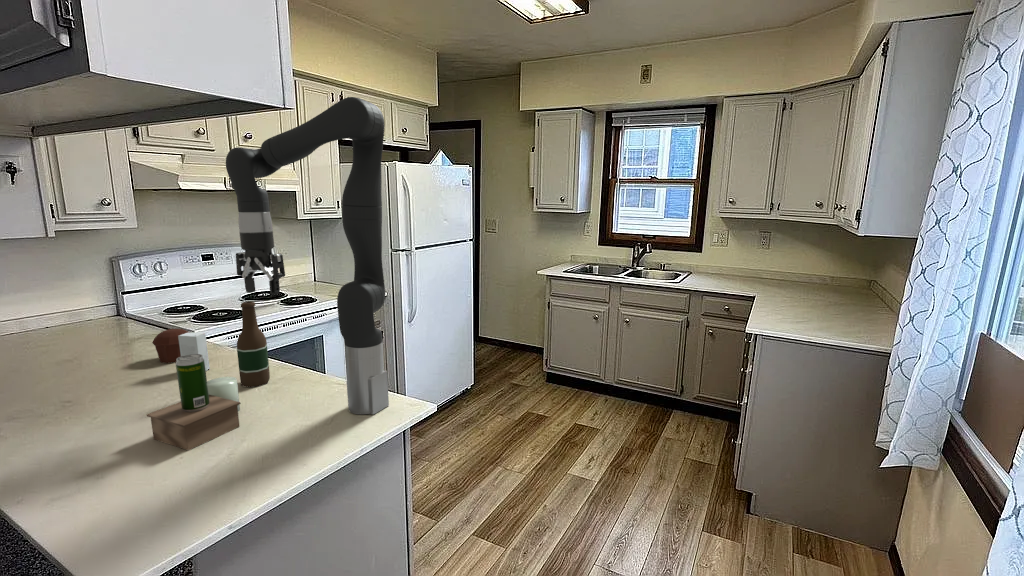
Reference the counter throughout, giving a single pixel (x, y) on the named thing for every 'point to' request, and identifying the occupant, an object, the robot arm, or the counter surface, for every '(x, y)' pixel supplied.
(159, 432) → the podium
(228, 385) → the pale green capsule
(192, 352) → the skincare box
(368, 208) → the robot arm
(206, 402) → the beer can
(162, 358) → the muffin
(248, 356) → the beer bottle
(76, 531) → the counter surface
